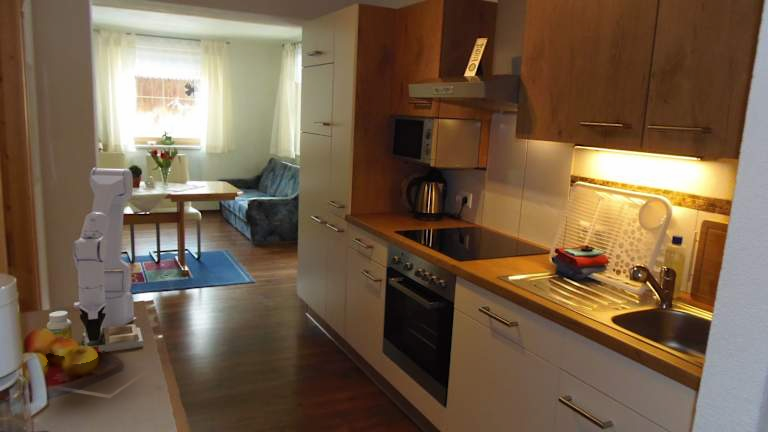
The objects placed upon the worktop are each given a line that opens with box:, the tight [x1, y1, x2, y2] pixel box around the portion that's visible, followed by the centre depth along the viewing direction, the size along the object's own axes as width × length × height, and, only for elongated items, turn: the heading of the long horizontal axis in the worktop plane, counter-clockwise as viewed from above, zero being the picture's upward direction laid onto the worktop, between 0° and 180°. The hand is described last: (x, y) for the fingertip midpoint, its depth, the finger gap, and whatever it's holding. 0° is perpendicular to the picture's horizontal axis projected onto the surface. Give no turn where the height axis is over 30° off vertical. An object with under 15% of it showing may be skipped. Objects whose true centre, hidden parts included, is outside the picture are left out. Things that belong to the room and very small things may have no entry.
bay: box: [82, 327, 144, 353], centre depth 144 cm, size 14×10×2 cm
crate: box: [103, 323, 138, 344], centre depth 145 cm, size 8×8×3 cm
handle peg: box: [84, 325, 103, 346], centre depth 142 cm, size 4×4×7 cm
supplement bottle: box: [46, 310, 73, 340], centre depth 139 cm, size 5×5×10 cm
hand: (93, 336), depth 142 cm, fingers closed on handle peg, 4 cm apart
